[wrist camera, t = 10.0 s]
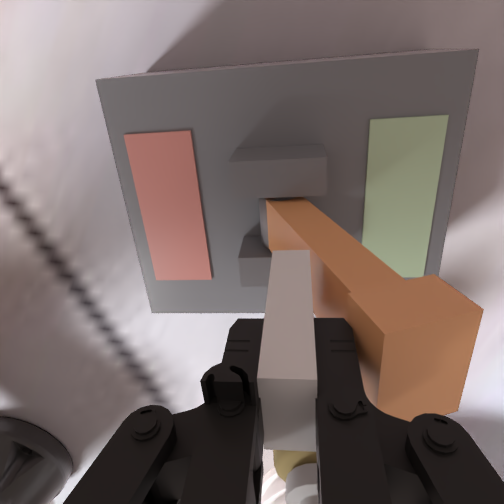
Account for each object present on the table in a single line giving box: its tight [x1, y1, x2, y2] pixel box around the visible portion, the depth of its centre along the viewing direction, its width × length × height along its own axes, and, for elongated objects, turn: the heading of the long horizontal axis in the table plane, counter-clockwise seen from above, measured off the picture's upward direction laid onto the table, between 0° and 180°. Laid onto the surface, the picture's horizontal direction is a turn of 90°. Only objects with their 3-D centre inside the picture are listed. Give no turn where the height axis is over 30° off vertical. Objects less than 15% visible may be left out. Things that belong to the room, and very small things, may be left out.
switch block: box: [96, 49, 479, 313], centre depth 26 cm, size 20×16×11 cm
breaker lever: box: [259, 197, 484, 422], centre depth 17 cm, size 3×4×14 cm
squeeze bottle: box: [273, 450, 318, 504], centre depth 32 cm, size 8×8×18 cm
